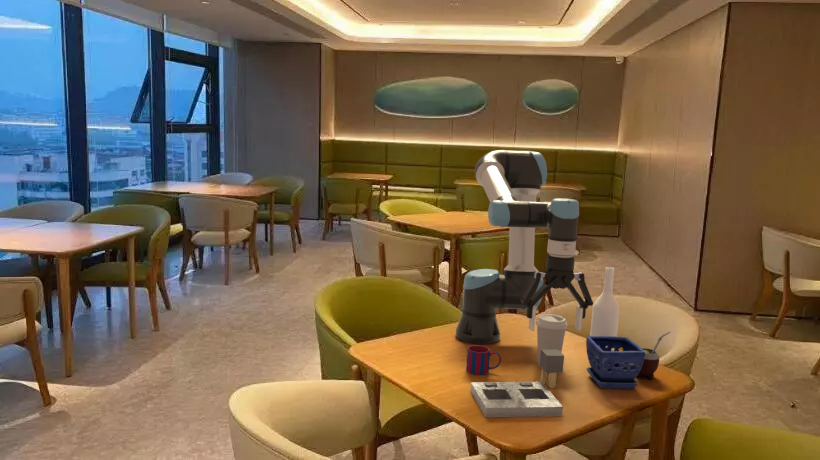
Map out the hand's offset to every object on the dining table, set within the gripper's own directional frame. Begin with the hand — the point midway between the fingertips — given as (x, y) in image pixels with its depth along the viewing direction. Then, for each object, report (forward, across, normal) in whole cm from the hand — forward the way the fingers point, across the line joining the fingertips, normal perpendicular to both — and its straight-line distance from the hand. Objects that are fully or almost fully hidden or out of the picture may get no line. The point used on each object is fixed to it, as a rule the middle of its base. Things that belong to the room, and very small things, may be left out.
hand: (554, 329), depth 179 cm
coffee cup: (+16, +5, +15) cm, 23 cm away
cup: (+16, -17, +10) cm, 26 cm away
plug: (+16, 0, 0) cm, 16 cm away
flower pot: (+16, +19, +1) cm, 25 cm away
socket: (+16, -14, -12) cm, 24 cm away
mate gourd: (+16, +32, +5) cm, 36 cm away
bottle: (+16, +24, +19) cm, 35 cm away
